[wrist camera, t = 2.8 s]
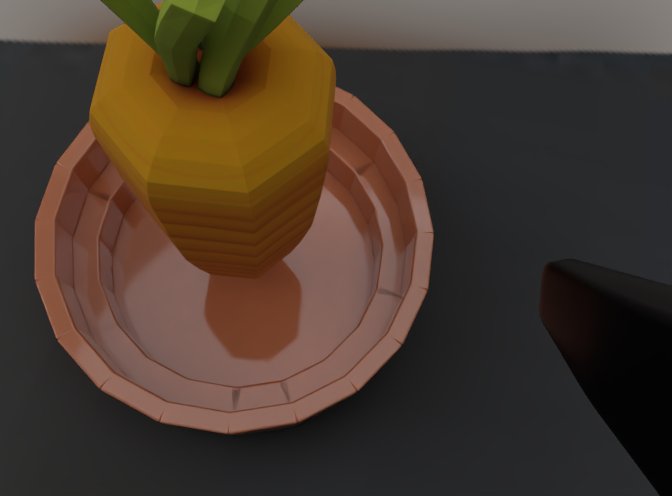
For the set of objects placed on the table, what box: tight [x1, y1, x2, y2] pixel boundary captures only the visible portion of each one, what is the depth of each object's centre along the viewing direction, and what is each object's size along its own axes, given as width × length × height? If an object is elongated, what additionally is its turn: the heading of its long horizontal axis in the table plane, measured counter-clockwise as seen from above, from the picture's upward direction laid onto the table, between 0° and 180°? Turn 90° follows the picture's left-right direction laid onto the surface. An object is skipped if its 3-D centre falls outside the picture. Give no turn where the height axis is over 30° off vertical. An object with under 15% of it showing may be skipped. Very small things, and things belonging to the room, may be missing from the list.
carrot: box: [90, 0, 336, 279], centre depth 14 cm, size 5×5×15 cm
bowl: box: [35, 86, 434, 436], centre depth 20 cm, size 12×12×4 cm
